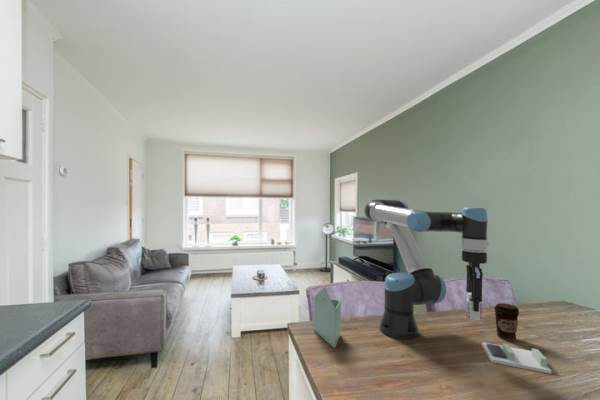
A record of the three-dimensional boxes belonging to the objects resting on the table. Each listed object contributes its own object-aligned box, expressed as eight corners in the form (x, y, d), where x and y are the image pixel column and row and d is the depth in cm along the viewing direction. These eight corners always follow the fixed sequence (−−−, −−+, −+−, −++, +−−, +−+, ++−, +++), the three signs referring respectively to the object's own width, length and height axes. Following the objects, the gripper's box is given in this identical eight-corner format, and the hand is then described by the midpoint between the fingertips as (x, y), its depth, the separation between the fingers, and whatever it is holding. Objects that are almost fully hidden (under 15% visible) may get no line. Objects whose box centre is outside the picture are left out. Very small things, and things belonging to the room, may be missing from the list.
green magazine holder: (351, 344, 102) (353, 290, 102) (333, 348, 98) (335, 292, 99) (329, 326, 117) (330, 280, 117) (313, 329, 113) (314, 281, 114)
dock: (491, 362, 92) (491, 351, 92) (481, 344, 104) (481, 335, 104) (551, 374, 86) (551, 362, 86) (534, 354, 98) (534, 344, 98)
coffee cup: (525, 344, 106) (525, 310, 106) (500, 341, 107) (501, 308, 108) (512, 334, 114) (512, 303, 115) (490, 332, 116) (490, 301, 116)
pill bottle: (482, 322, 93) (482, 297, 93) (465, 318, 95) (465, 294, 95) (481, 317, 97) (481, 293, 97) (466, 314, 99) (466, 291, 99)
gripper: (493, 255, 87) (493, 329, 86) (480, 248, 104) (480, 310, 103) (466, 253, 90) (465, 324, 89) (458, 247, 106) (457, 307, 106)
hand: (473, 317), depth 96 cm, fingers closed on pill bottle, 5 cm apart
